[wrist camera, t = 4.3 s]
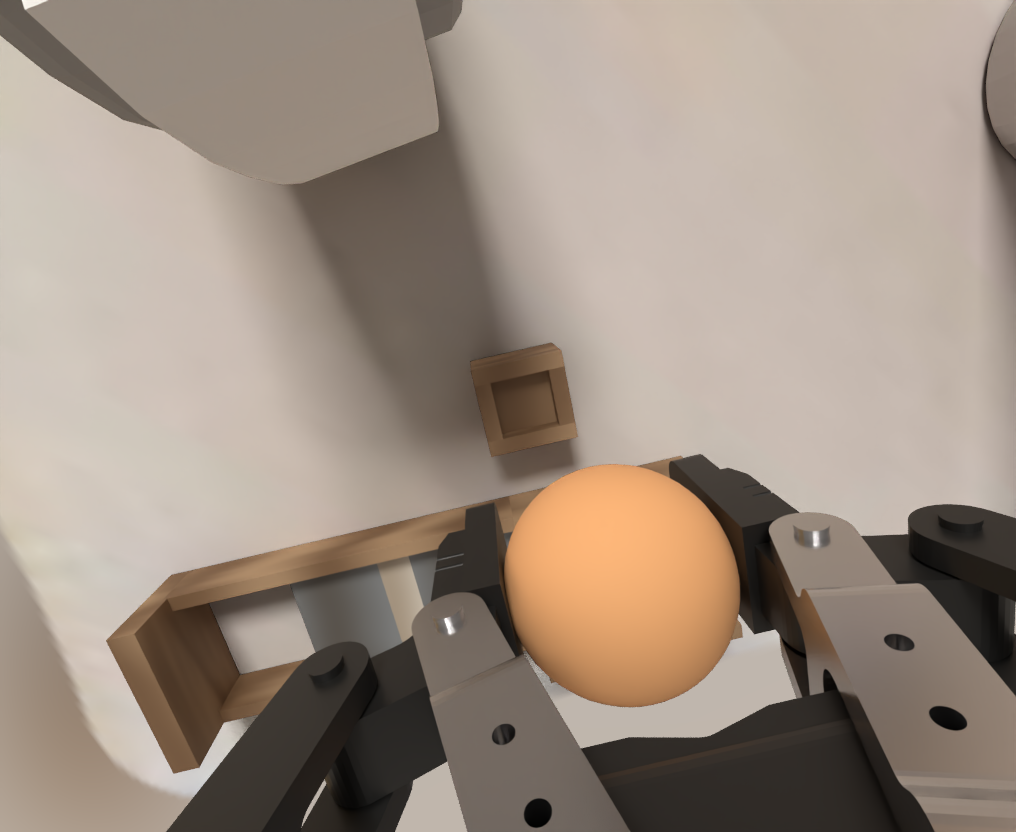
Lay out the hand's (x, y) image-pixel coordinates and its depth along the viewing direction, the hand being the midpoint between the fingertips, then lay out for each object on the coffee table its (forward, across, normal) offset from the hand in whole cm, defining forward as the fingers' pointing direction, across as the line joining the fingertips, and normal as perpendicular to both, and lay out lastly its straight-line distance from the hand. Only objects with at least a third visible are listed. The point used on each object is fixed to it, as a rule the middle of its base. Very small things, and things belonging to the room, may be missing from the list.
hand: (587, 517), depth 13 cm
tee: (+14, +1, 0) cm, 14 cm away
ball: (-3, 0, 0) cm, 3 cm away
